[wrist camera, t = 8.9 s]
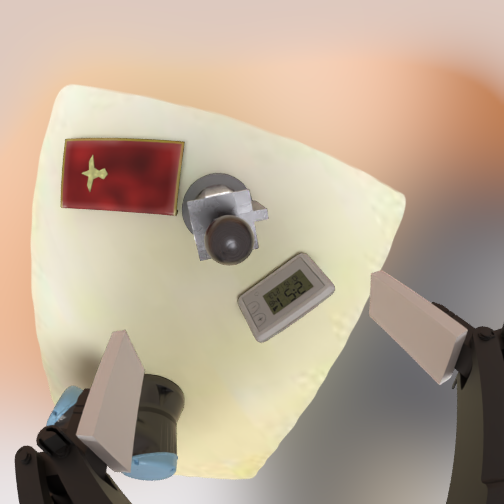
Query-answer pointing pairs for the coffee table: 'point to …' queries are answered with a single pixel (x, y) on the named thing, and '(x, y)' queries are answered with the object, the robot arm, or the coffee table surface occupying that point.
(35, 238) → the coffee table surface
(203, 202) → the grey blocky piece
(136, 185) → the hardcover book
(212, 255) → the ball knob lever
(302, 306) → the digital clock
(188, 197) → the trivet
